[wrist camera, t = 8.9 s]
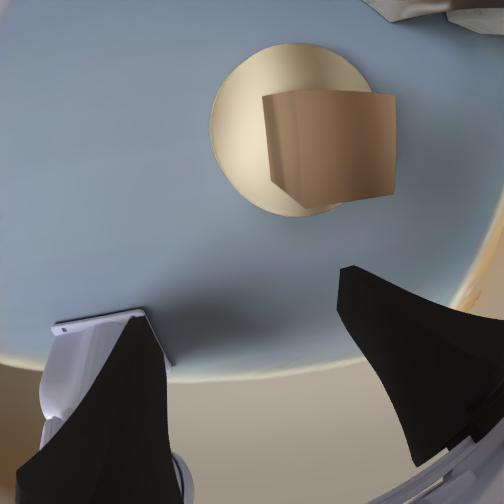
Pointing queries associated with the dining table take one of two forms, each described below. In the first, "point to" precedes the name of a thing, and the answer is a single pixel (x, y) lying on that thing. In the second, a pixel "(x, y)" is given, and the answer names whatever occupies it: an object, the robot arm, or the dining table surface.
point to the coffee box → (426, 7)
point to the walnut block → (331, 145)
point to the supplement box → (479, 20)
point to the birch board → (252, 115)
